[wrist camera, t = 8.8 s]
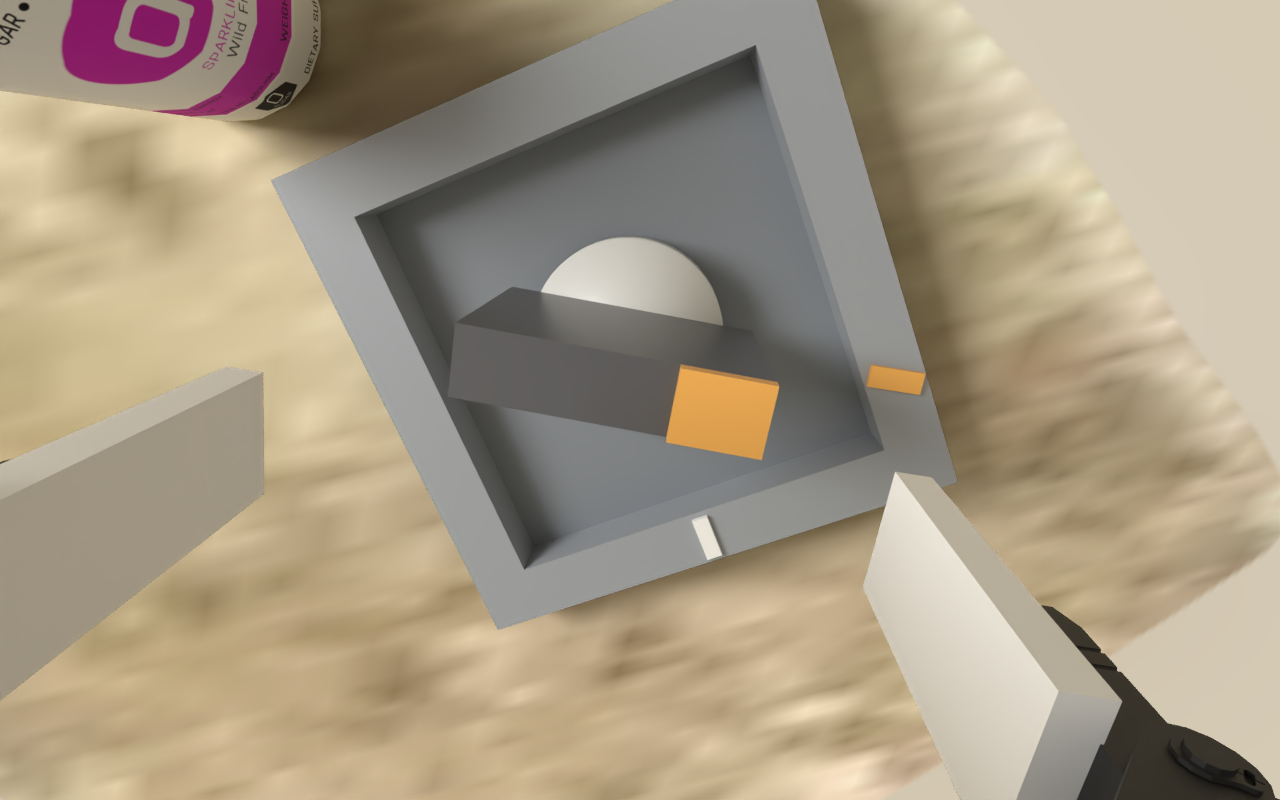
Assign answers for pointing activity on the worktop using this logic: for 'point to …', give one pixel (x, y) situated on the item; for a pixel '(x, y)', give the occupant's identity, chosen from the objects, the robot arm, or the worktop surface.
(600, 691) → the worktop surface
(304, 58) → the supplement can
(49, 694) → the worktop surface
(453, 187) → the dial panel
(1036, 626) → the robot arm
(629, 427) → the dial
